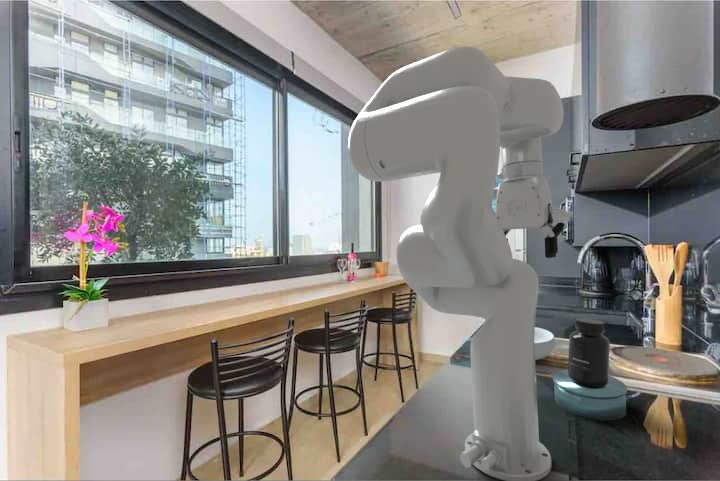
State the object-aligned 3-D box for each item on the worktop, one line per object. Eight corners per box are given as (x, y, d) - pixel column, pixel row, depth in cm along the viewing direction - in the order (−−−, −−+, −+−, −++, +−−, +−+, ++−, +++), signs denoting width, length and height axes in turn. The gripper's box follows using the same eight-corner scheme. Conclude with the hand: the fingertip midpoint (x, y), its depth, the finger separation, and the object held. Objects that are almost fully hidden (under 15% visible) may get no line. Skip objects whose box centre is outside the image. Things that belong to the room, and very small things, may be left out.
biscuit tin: (627, 429, 61) (625, 401, 61) (548, 410, 69) (547, 385, 69) (628, 401, 71) (627, 377, 71) (559, 387, 79) (558, 365, 79)
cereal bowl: (477, 352, 104) (476, 329, 103) (523, 345, 108) (522, 322, 108) (518, 373, 87) (517, 345, 87) (570, 363, 92) (569, 336, 92)
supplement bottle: (571, 383, 68) (572, 322, 68) (565, 371, 74) (566, 315, 74) (613, 390, 65) (614, 326, 65) (603, 377, 72) (604, 319, 72)
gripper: (474, 179, 76) (478, 258, 76) (559, 164, 62) (564, 259, 62) (493, 181, 80) (496, 255, 81) (575, 167, 67) (579, 256, 67)
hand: (526, 257), depth 72 cm, fingers open, 9 cm apart
